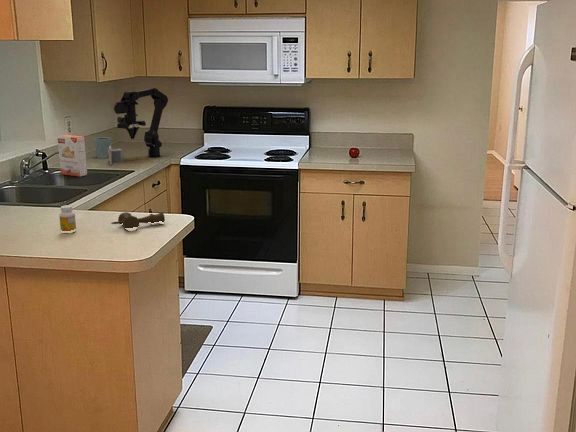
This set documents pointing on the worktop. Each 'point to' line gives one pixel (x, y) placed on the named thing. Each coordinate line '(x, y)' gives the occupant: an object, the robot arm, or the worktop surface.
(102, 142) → the drinking glass
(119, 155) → the camera box
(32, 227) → the worktop surface
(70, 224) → the supplement bottle
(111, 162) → the pale grey square case
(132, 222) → the kendama
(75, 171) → the cracker box
